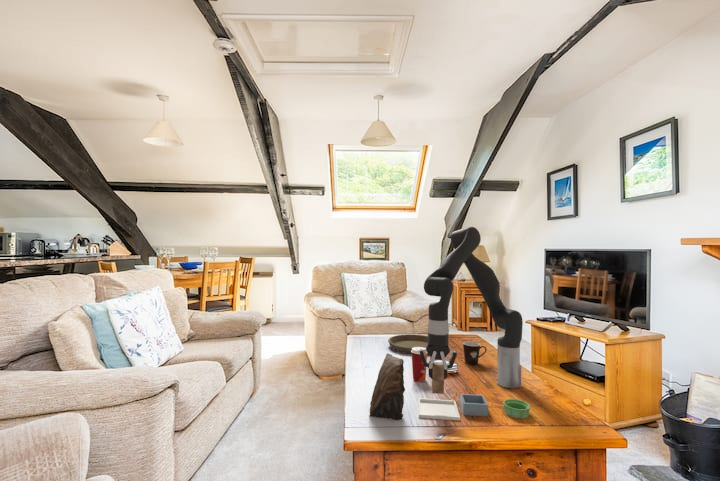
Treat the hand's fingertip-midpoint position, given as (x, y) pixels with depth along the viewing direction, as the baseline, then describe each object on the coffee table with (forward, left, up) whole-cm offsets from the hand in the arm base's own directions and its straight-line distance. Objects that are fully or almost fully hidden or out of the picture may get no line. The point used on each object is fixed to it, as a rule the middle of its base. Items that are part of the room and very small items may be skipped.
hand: (437, 378), depth 135 cm
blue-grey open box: (-13, -2, -13) cm, 18 cm away
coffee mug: (-23, -61, -13) cm, 66 cm away
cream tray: (0, 0, -13) cm, 13 cm away
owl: (+19, +3, -13) cm, 23 cm away
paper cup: (+6, -33, -13) cm, 36 cm away
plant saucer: (+8, -86, -13) cm, 87 cm away
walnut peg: (0, 0, -5) cm, 5 cm away
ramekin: (-28, -2, -13) cm, 31 cm away
